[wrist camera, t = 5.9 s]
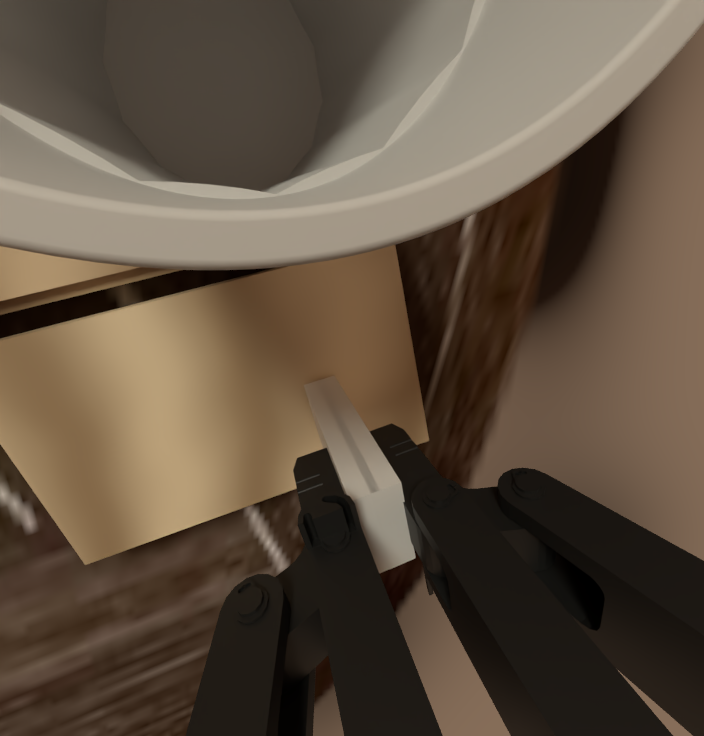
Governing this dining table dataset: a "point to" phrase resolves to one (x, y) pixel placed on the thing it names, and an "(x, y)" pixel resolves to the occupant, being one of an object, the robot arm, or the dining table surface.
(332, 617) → the robot arm
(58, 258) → the tan flat board
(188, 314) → the plank
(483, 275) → the dining table surface
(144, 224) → the cup
